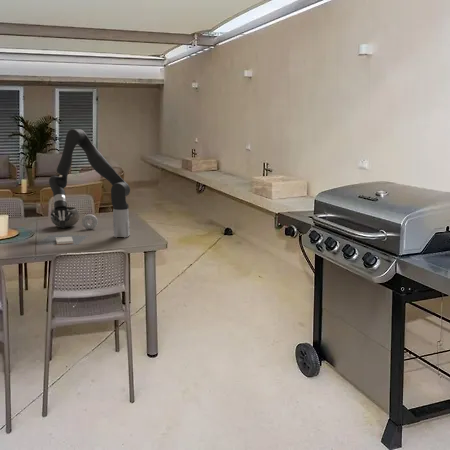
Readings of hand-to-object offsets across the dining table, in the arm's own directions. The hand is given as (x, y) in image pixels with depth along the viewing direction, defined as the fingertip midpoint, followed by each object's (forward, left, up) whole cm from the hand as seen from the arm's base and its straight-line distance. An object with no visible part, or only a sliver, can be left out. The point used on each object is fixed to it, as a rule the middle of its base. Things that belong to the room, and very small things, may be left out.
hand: (62, 227), depth 314 cm
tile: (-1, +2, -6) cm, 7 cm away
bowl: (+10, -38, -8) cm, 41 cm away
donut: (-8, -31, -8) cm, 34 cm away
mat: (0, +2, -8) cm, 8 cm away
